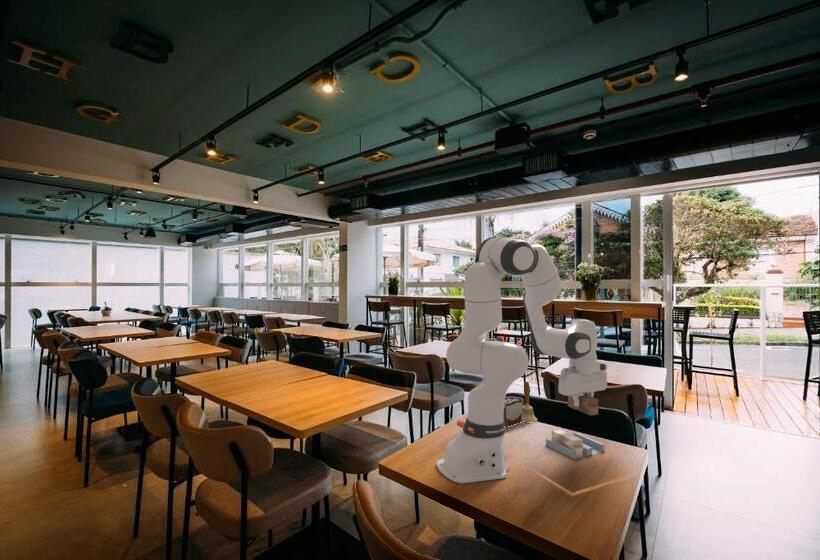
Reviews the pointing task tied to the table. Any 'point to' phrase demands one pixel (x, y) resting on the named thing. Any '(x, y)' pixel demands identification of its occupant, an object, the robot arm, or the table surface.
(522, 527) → the table surface
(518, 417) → the food container
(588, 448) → the slot rack
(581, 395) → the walnut bar
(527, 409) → the hand bell
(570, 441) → the maple bar
